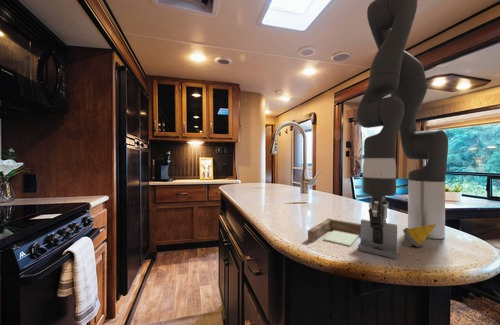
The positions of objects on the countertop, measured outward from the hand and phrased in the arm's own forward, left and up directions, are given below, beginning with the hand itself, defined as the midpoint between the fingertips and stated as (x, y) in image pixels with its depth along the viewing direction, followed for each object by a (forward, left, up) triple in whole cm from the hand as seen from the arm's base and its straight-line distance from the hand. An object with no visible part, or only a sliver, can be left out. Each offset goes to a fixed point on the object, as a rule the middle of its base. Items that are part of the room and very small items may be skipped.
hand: (378, 242), depth 56 cm
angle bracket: (+2, 0, -2) cm, 2 cm away
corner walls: (-3, -9, -2) cm, 10 cm away
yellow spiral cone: (-10, +8, -2) cm, 13 cm away
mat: (-3, -10, -2) cm, 11 cm away
